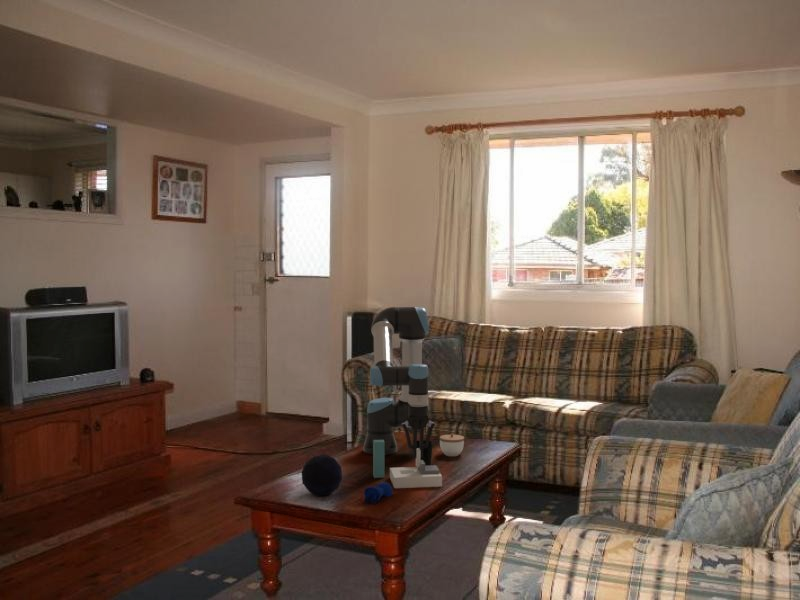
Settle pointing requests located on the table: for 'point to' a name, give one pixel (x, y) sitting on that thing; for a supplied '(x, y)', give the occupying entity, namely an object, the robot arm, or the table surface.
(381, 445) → the plug
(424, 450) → the cup
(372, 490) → the toy
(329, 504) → the table surface
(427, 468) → the plate
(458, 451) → the lidded jar
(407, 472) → the socket box
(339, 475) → the decorative orb
